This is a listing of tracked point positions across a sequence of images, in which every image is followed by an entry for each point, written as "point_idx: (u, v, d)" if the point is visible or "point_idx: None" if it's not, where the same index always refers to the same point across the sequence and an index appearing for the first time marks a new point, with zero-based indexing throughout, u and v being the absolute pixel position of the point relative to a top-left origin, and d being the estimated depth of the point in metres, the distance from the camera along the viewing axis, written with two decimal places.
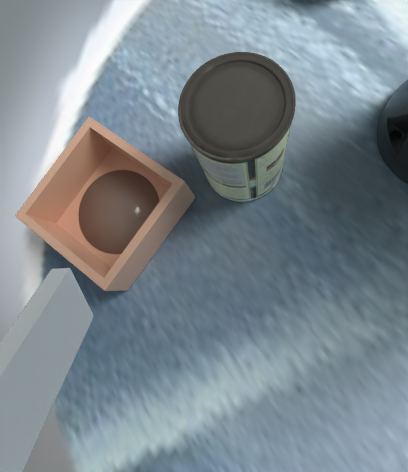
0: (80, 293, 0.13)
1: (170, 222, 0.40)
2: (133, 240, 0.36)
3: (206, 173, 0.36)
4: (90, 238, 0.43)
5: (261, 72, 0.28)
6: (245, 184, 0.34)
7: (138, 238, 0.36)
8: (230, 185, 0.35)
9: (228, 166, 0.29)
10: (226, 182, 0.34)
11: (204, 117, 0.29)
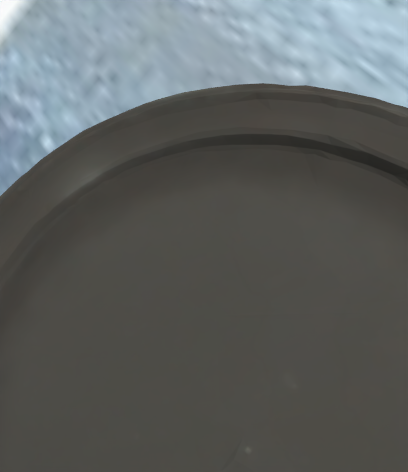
0: None
1: None
2: None
3: None
4: None
5: None
6: None
7: None
8: None
9: None
10: None
11: None
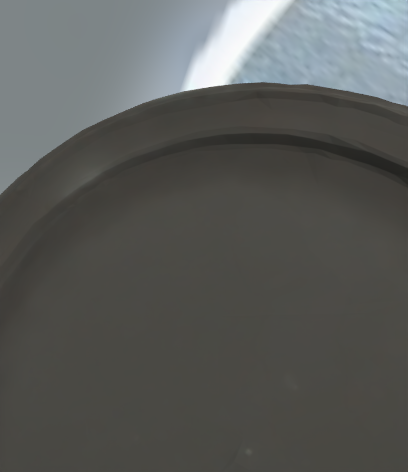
0: None
1: None
2: None
3: None
4: None
5: None
6: None
7: None
8: None
9: None
10: None
11: None
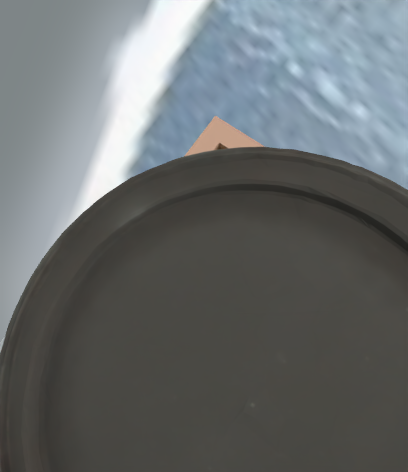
0: None
1: None
2: None
3: None
4: None
5: (368, 251, 0.06)
6: None
7: None
8: None
9: None
10: None
11: (98, 448, 0.06)
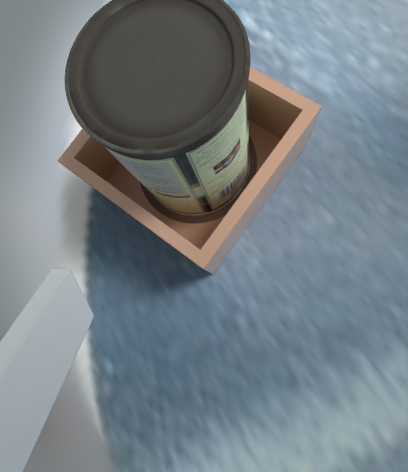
0: (80, 293, 0.13)
1: (280, 175, 0.28)
2: (245, 193, 0.24)
3: None
4: (156, 202, 0.31)
5: (197, 13, 0.17)
6: (187, 193, 0.23)
7: (253, 190, 0.23)
8: (167, 194, 0.24)
9: (146, 164, 0.18)
10: (158, 189, 0.23)
11: (104, 84, 0.18)
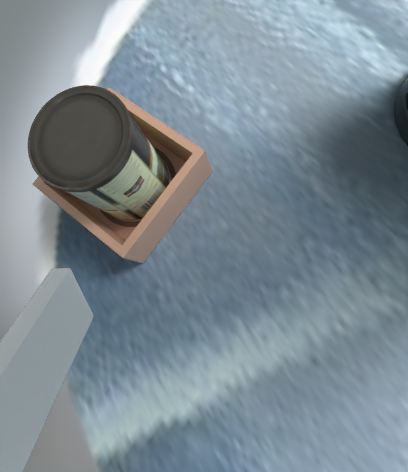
0: (80, 293, 0.13)
1: (187, 194, 0.40)
2: (152, 208, 0.36)
3: None
4: None
5: (104, 105, 0.30)
6: (113, 208, 0.36)
7: (157, 206, 0.36)
8: (102, 208, 0.36)
9: (76, 194, 0.30)
10: (95, 206, 0.36)
11: (50, 147, 0.30)
